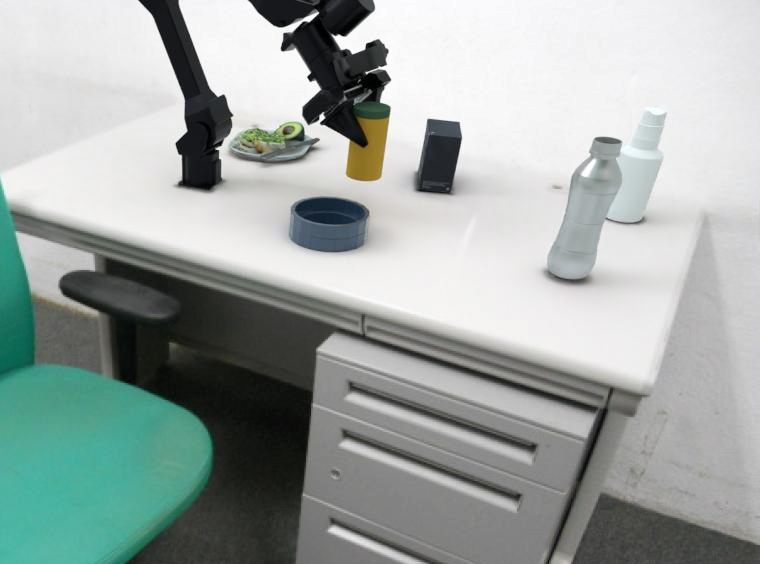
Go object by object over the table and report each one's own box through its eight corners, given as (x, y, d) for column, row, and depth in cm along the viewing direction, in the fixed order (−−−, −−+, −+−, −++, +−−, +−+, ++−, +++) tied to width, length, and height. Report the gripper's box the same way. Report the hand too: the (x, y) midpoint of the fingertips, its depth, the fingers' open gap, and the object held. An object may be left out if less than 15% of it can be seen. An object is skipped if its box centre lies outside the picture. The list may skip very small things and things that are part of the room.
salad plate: (302, 172, 151) (304, 148, 148) (216, 161, 155) (216, 138, 152) (322, 143, 166) (324, 121, 163) (243, 134, 170) (244, 113, 167)
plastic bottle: (536, 266, 118) (572, 133, 106) (578, 265, 118) (619, 133, 107) (554, 285, 113) (595, 148, 101) (598, 284, 113) (644, 147, 101)
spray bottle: (640, 211, 137) (676, 106, 126) (643, 225, 131) (682, 117, 121) (598, 206, 138) (631, 102, 128) (600, 220, 133) (635, 112, 122)
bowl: (277, 247, 122) (279, 217, 119) (303, 220, 131) (305, 191, 128) (353, 262, 118) (357, 231, 115) (374, 233, 127) (378, 203, 124)
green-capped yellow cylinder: (341, 178, 126) (348, 108, 119) (351, 167, 130) (359, 99, 124) (375, 183, 124) (385, 113, 117) (385, 172, 128) (394, 104, 122)
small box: (452, 194, 142) (464, 136, 136) (417, 191, 143) (426, 133, 137) (450, 175, 151) (461, 120, 144) (416, 172, 152) (425, 117, 145)
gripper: (325, 31, 110) (383, 124, 111) (388, 14, 122) (440, 99, 123) (277, 80, 118) (331, 167, 119) (340, 60, 130) (389, 139, 131)
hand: (375, 141), depth 123 cm, fingers closed on green-capped yellow cylinder, 6 cm apart
